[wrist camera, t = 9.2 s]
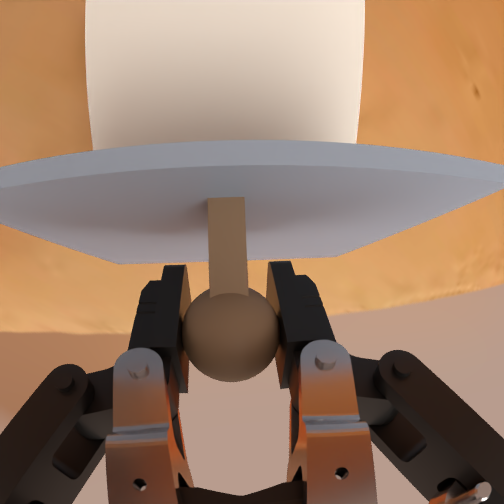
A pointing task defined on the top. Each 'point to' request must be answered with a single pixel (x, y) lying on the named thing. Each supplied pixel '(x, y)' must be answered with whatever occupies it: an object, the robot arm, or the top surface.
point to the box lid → (235, 217)
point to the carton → (223, 70)
